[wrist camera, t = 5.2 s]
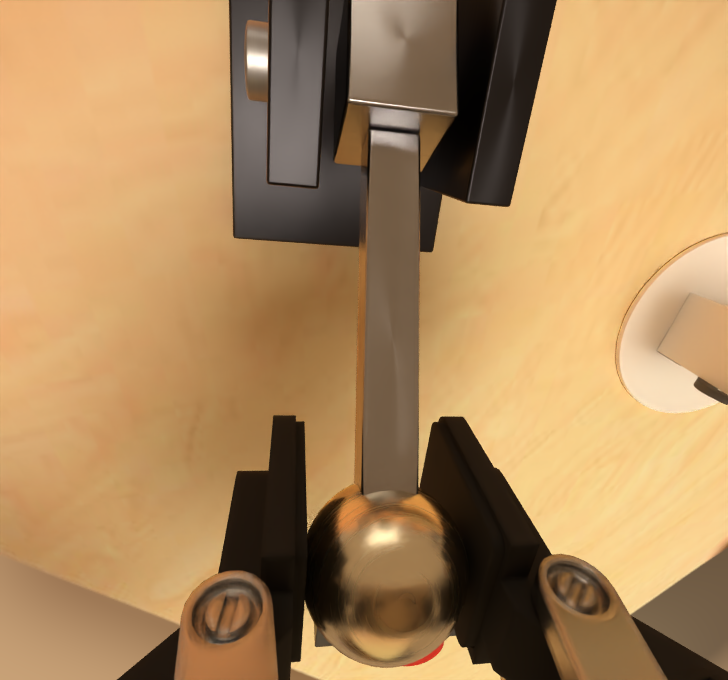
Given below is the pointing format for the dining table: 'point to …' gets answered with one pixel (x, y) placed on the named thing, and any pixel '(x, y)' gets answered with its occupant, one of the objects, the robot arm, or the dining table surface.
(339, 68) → the lever
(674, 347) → the panda figurine
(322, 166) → the switch bracket
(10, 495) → the dining table surface
